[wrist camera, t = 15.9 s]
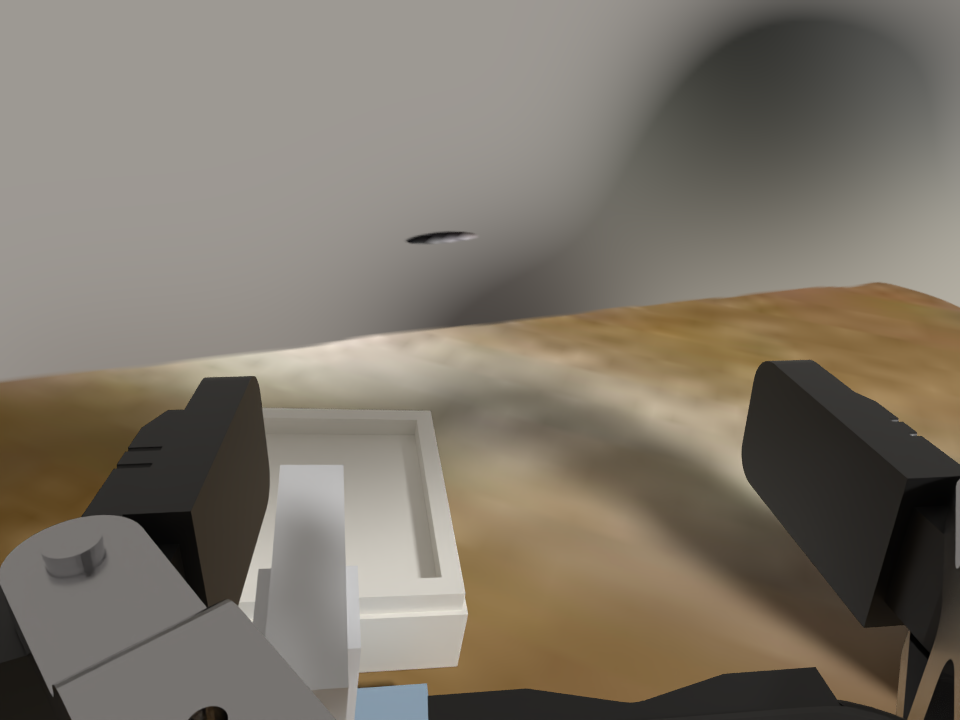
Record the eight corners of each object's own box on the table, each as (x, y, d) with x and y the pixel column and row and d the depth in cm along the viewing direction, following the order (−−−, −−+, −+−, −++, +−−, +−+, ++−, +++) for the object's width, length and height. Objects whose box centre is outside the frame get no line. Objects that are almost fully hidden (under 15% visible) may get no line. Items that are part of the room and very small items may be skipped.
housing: (425, 470, 49) (434, 408, 46) (457, 666, 36) (471, 597, 34) (190, 470, 46) (185, 403, 43) (137, 686, 33) (125, 611, 30)
